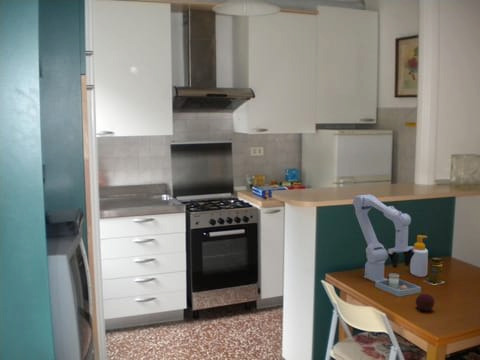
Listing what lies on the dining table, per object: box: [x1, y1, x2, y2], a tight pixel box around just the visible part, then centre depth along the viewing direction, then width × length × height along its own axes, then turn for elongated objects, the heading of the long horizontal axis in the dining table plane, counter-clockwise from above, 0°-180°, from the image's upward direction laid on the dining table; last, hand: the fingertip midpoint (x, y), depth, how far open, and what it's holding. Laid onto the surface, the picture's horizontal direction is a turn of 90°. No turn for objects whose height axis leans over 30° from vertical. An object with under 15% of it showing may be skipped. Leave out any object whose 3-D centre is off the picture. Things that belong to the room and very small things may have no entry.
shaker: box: [388, 272, 400, 289], centre depth 237 cm, size 5×5×6 cm
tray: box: [374, 278, 422, 298], centre depth 235 cm, size 16×14×3 cm
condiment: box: [423, 257, 446, 286], centre depth 248 cm, size 7×8×12 cm
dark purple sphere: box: [415, 293, 435, 312], centre depth 210 cm, size 7×8×7 cm
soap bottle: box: [409, 234, 429, 278], centre depth 261 cm, size 13×8×20 cm, turn 171°
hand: (400, 266), depth 239 cm, fingers open, 7 cm apart
